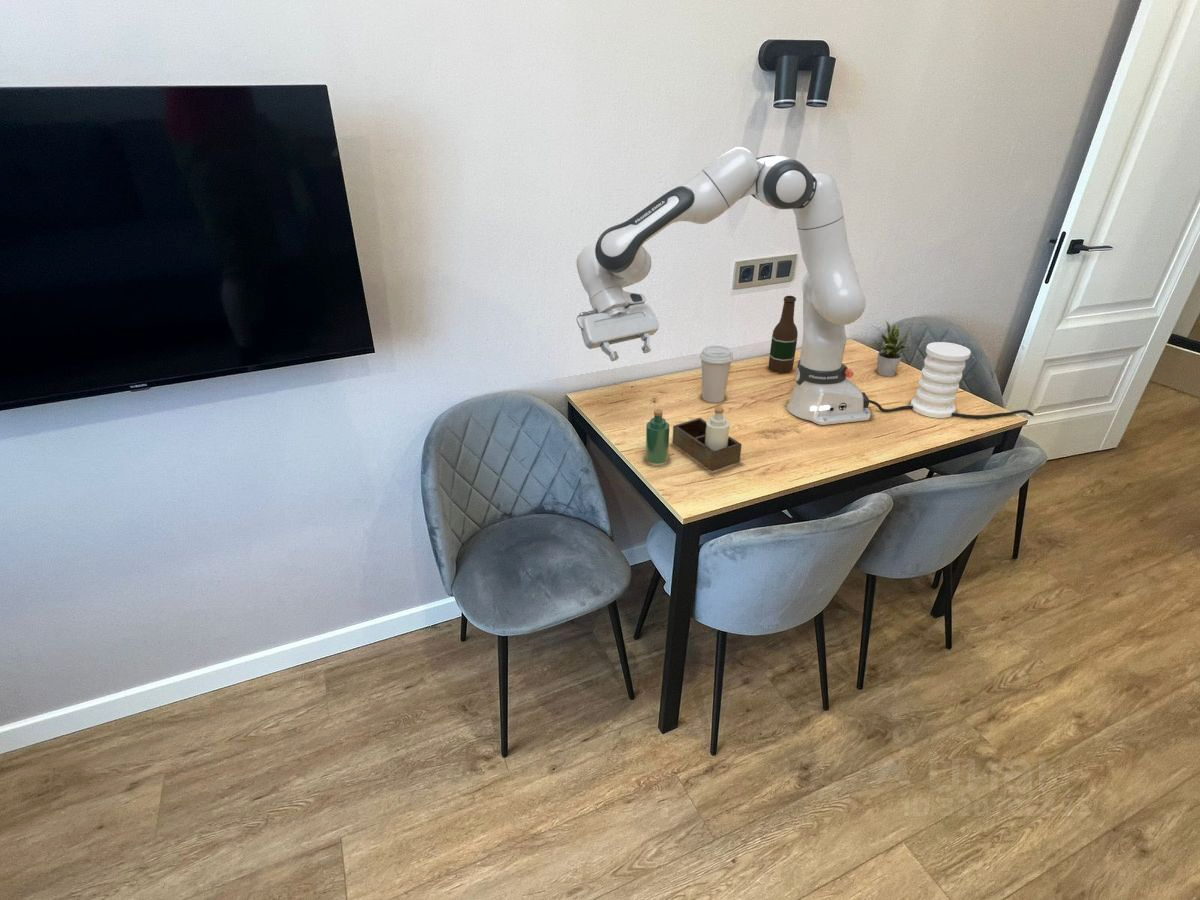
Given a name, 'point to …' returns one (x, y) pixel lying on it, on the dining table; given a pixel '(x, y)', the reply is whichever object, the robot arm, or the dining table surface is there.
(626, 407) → the dining table surface
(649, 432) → the green bottle
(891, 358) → the house plant
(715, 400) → the coffee cup
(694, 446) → the caddy
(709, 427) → the cream bottle
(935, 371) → the decorative container
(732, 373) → the dining table surface
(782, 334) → the beer bottle
